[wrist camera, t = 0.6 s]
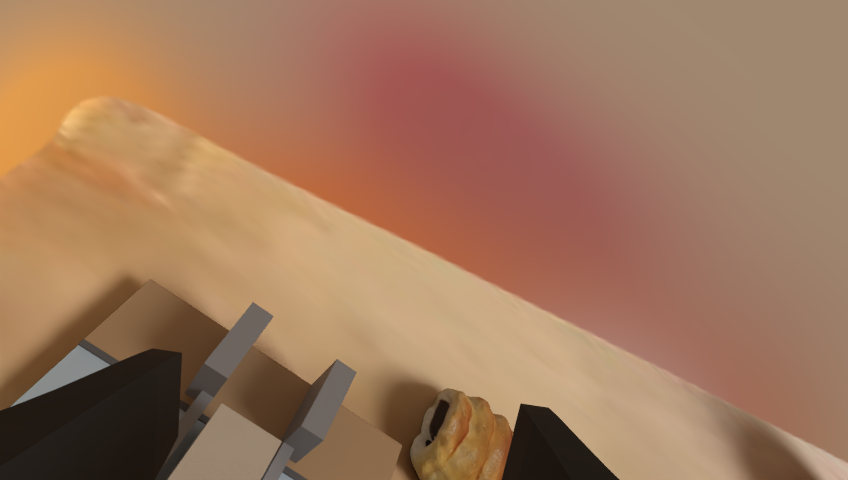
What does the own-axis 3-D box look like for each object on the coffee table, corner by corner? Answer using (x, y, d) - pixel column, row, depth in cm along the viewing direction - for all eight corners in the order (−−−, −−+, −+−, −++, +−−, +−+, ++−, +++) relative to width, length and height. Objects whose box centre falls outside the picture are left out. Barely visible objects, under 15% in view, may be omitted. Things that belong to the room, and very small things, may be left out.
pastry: (537, 471, 35) (577, 452, 33) (519, 574, 30) (566, 560, 28) (429, 389, 34) (463, 363, 32) (392, 479, 29) (429, 457, 27)
